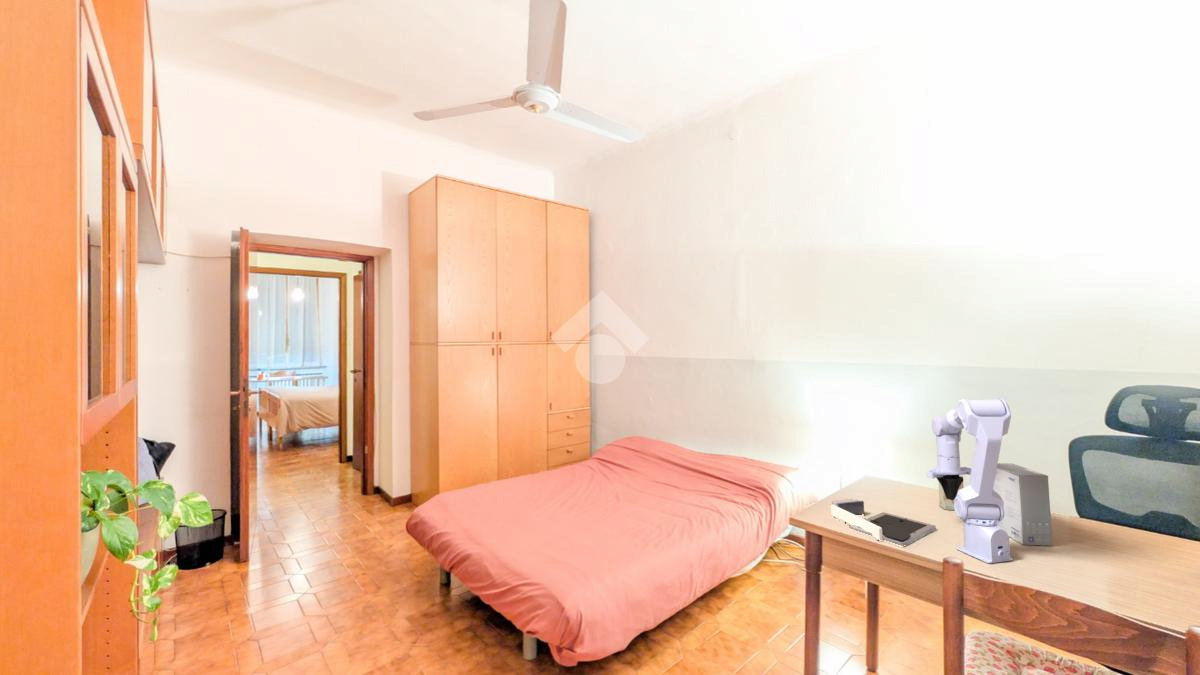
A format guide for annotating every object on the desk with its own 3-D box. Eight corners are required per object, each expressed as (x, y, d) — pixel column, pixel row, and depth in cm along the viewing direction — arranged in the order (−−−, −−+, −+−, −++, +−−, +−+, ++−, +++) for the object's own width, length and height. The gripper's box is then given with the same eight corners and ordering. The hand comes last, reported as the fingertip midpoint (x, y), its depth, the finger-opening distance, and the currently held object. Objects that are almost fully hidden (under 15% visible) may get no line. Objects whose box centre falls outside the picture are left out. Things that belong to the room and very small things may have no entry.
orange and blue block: (860, 515, 161) (859, 500, 161) (837, 518, 160) (837, 503, 160) (852, 511, 165) (852, 497, 165) (831, 514, 163) (830, 500, 163)
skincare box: (944, 510, 163) (941, 474, 163) (939, 505, 167) (937, 471, 168) (965, 511, 161) (963, 475, 161) (960, 507, 165) (958, 472, 166)
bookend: (869, 518, 158) (868, 503, 158) (843, 521, 156) (843, 506, 157) (862, 515, 161) (861, 500, 161) (837, 518, 160) (836, 503, 160)
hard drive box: (1054, 547, 132) (1049, 476, 132) (1022, 545, 133) (1018, 475, 134) (1017, 526, 147) (1013, 462, 148) (989, 525, 149) (985, 462, 149)
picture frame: (902, 549, 135) (935, 532, 146) (902, 539, 135) (935, 523, 147) (849, 533, 149) (883, 518, 160) (849, 524, 149) (883, 509, 160)
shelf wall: (882, 541, 140) (881, 527, 140) (879, 541, 140) (879, 528, 140) (833, 516, 162) (833, 504, 162) (831, 516, 161) (830, 504, 161)
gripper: (956, 451, 152) (958, 493, 152) (917, 454, 150) (920, 497, 149) (977, 455, 145) (979, 499, 145) (937, 459, 143) (939, 504, 143)
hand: (950, 499), depth 147 cm, fingers closed
